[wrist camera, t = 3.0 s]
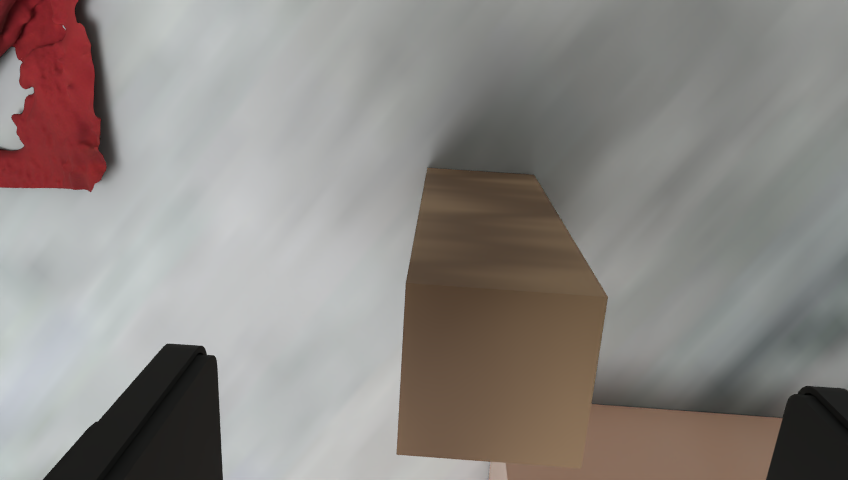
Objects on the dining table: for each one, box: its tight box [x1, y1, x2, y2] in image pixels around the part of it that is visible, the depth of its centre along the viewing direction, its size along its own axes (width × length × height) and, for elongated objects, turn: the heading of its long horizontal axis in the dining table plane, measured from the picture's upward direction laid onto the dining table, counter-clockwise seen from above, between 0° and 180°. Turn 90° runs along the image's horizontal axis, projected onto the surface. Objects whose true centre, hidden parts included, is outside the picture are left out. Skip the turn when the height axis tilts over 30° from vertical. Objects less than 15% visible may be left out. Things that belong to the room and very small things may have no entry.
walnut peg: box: [397, 168, 608, 468], centre depth 19 cm, size 4×4×12 cm
